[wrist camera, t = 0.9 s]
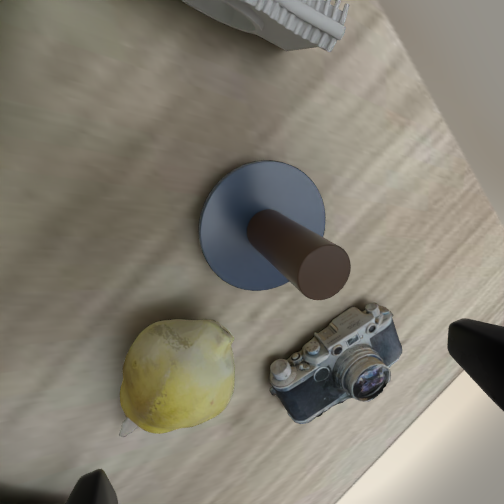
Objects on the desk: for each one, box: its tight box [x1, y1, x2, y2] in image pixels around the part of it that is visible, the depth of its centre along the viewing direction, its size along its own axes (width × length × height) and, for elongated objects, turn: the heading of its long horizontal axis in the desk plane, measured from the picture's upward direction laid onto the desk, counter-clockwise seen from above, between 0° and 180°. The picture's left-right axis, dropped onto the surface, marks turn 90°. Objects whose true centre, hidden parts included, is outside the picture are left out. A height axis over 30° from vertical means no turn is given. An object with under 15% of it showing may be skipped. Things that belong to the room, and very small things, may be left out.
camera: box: [269, 303, 402, 424], centre depth 23 cm, size 5×10×4 cm, turn 115°
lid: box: [199, 160, 350, 300], centre depth 17 cm, size 8×8×8 cm
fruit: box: [119, 319, 235, 437], centre depth 19 cm, size 6×6×10 cm
